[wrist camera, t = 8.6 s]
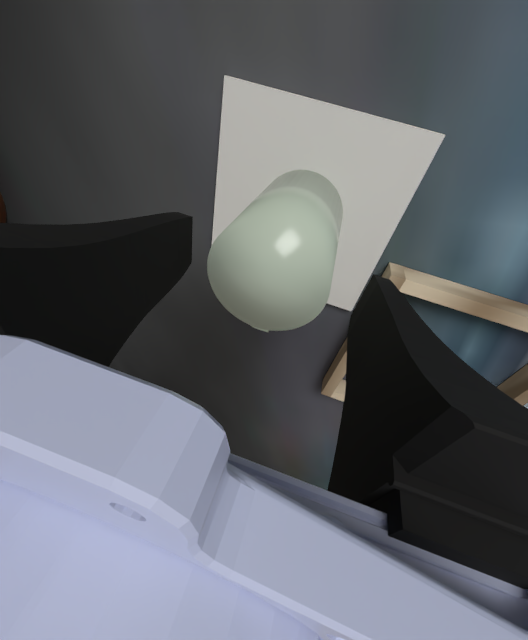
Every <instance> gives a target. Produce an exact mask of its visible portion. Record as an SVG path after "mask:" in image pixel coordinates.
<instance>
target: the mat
mask: <svg viewBox="0 0 528 640" xmlns="http://www.w3.org/2000/svg"><path fill="white" fill-rule="evenodd" d="M444 137H445V135H444V134H441V133H438V132H434V131H430V130H426V129H423V128H419V127H415V126H412V125H408V124H404V123H401V122H397V121H393V120H390V119H386V118H382V117H378V116H375V115H371V114H367V113H364V112H360V111H356V110H353V109H349V108H345V107H341V106H338V105H334V104H330V103H327V102H323V101H319V100H316V99H312V98H308V97H305V96H301V95H297V94H293V93H290V92H286V91H282V90H279V89H275V88H271V87H268V86H264V85H260V84H256V83H253V82H249V81H245V80H242V79H238V78H234V77H231V76H226V75H224V87H223V100H222V114H221V127H220V140H219V154H218V167H217V180H216V193H215V207H214V220H213V233H212V244H213V243H214V241H215V240H216V238H217V237H218V236H219V235H220V234H221V233H222V232H223V231H224V230H225V229H226V228H227V227H228V226H229V225H230V224H231V223H232V222H233V221H234V220H235V219H236V218H237V217H238V216H239V215H240V214H241V213H242V212H243V211H244V210H245V209H246V208H247V207H248V206H249V205H250V204H251V203H252V202H253V201H254V200H255V199H256V198H257V197H258V196H259V195H260V194H261V193H262V192H263V191H264V190H265V189H266V188H267V187H268V186H269V185H270V184H271V183H272V182H273V181H274V180H275V179H276V178H277V177H279V176H280V175H282V174H284V173H287V172H289V171H293V170H309V171H313V172H316V173H319V174H320V175H322V176H324V177H325V178H327V179H328V180H329V181H330V182H331V183H332V184H333V185H334V187H335V188H336V189H337V191H338V193H339V195H340V198H341V201H342V205H343V219H342V225H341V230H340V236H339V242H338V248H337V254H336V260H335V265H334V271H333V277H332V283H331V289H330V294H329V298H328V301H327V304H330V305H333V306H336V307H339V308H342V309H346V310H349V311H352V309H353V307H354V305H355V304H356V302H357V300H358V298H359V296H360V294H361V292H362V290H363V289H364V287H365V285H366V283H367V281H368V279H369V277H370V276H371V274H372V272H373V270H374V268H375V266H376V264H377V262H378V261H379V259H380V257H381V255H382V253H383V251H384V249H385V247H386V246H387V244H388V242H389V240H390V238H391V236H392V234H393V232H394V231H395V229H396V227H397V225H398V223H399V221H400V219H401V217H402V216H403V214H404V212H405V210H406V208H407V206H408V204H409V202H410V201H411V199H412V197H413V195H414V193H415V191H416V189H417V187H418V186H419V184H420V182H421V180H422V178H423V176H424V174H425V172H426V171H427V169H428V167H429V165H430V163H431V161H432V159H433V157H434V156H435V154H436V152H437V150H438V148H439V146H440V144H441V142H442V141H443V139H444Z"/></svg>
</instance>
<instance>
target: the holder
mask: <svg viewBox="0 0 528 640" xmlns="http://www.w3.org/2000/svg"><path fill="white" fill-rule="evenodd" d="M381 277H383V278H386V279H390V280H391V281H392V282H393V283H394V285H395V286H396V287H397V288H398V290H399V291H400V292H402V293H405V294H408V295H411V296H415V297H418V298H421V299H424V300H427V301H430V302H433V303H437V304H440V305H443V306H446V307H449V308H452V309H455V310H459V311H462V312H465V313H468V314H471V315H474V316H478V317H481V318H484V319H487V320H490V321H493V322H496V323H500V324H503V325H506V326H509V327H512V328H515V329H518V330H522V331H525V332H528V305H526V304H523V303H519V302H516V301H513V300H510V299H507V298H503V297H500V296H497V295H494V294H490V293H487V292H484V291H481V290H478V289H474V288H471V287H468V286H465V285H461V284H458V283H455V282H452V281H449V280H445V279H442V278H439V277H436V276H432V275H429V274H426V273H423V272H420V271H416V270H413V269H410V268H407V267H403V266H400V265H397V264H394V263H391V262H389V264H388V266H387V267H386V269H385V271H384V273H383V274H382V276H381ZM346 361H347V338H346V340H345V342H344V343H343V345H342V347H341V349H340V350H339V352H338V354H337V356H336V358H335V359H334V361H333V363H332V365H331V366H330V368H329V370H328V372H327V373H326V375H325V377H324V379H323V383H322V390H321V394H323V395H326V396H329V397H332V398H335V399H337V400H340V401H343V402H344V398H345V389H346V381H345V380H342V378H343V377H344V375H345V374H346ZM497 388H498V389H499V390H501V391H502V392H504V393H505V394H506V395H508V396H509V397H511V398H512V399H514V400H515V401H517V402H518V403H519V404H521V405H522V406H523V405H525V404H526V403H528V364H527V365H525V366H524V367H523V368H521V369H520V370H519V371H517V372H516V373H515V374H514V375H512V376H511V377H510V378H508V379H507V380H506V381H504V382H503V383H502V384H500V385H499V386H498V387H497Z"/></svg>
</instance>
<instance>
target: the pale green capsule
mask: <svg viewBox="0 0 528 640" xmlns="http://www.w3.org/2000/svg"><path fill="white" fill-rule="evenodd" d="M342 219H343V205H342V201H341V198H340V195H339V193H338V191H337V189H336V188H335V187H334V185H333V184H332V183H331V182H330V181H329V180H328V179H327V178H325V177H324V176H322V175H320V174H319V173H316V172H313V171H309V170H293V171H289V172H287V173H284V174H282V175H280V176H279V177H277V178H276V179H275V180H274V181H273V182H272V183H271V184H270V185H269V186H268V187H267V188H266V189H265V190H264V191H263V192H262V193H261V194H260V195H259V196H258V197H257V198H256V199H255V200H254V201H253V202H252V203H251V204H250V205H249V206H248V207H247V208H246V209H245V210H244V211H243V212H242V213H241V214H240V215H239V216H238V217H237V218H236V219H235V220H234V221H233V222H232V223H231V224H230V225H229V226H228V227H227V228H226V229H225V230H224V231H223V232H222V233H221V234H220V235H219V236H218V237H217V238H216V240H215V241H214V243H213V244H212V247H211V249H210V252H209V255H208V261H207V272H208V278H209V281H210V285H211V287H212V289H213V292H214V293H215V295H216V297H217V298H218V300H219V301H220V303H221V304H222V305H223V306H224V307H225V308H226V309H227V310H228V311H229V312H230V313H231V314H233V315H234V316H235V317H236V318H238V319H240V320H241V321H243V322H245V323H247V324H249V325H252V326H251V327H253V328H256V329H259V330H262V331H265V332H269V330H272V331H285V330H291V329H295V328H298V327H301V326H303V325H305V324H307V323H309V322H310V321H312V320H313V319H314V318H316V317H317V316H318V315H319V314H320V312H321V311H322V310H323V308H324V307H325V305H326V303H327V301H328V298H329V294H330V289H331V283H332V277H333V271H334V265H335V260H336V254H337V248H338V242H339V236H340V230H341V225H342Z"/></svg>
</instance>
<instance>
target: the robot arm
mask: <svg viewBox="0 0 528 640" xmlns="http://www.w3.org/2000/svg"><path fill="white" fill-rule="evenodd" d="M191 260H192V217H191V216H188V215H185V214H182V213H178V212H171V213H162V214H155V215H149V216H143V217H137V218H131V219H124V220H116V221H109V222H101V223H90V224H72V225H29V224H10V223H0V640H528V409H527V408H525V407H524V406H522V405H521V404H519V403H518V402H517V401H515V400H514V399H512V398H511V397H509V396H508V395H506V394H505V393H504V392H502V391H501V390H499V389H498V388H497V387H495V386H494V385H493V384H491V383H490V382H489V381H487V380H486V379H485V378H483V377H482V376H481V375H480V374H478V373H477V372H476V371H475V370H473V369H472V368H471V367H470V366H468V365H467V364H466V363H465V362H464V361H463V360H461V359H460V358H459V357H458V356H457V355H456V354H455V353H454V352H453V351H451V350H450V349H449V348H448V347H447V346H446V345H445V344H444V343H443V342H442V341H441V340H440V339H439V338H438V337H437V336H436V335H435V334H434V333H433V332H432V330H431V329H430V328H429V327H428V326H427V325H426V324H425V323H424V321H423V320H422V319H421V318H420V317H419V315H418V314H417V313H416V312H415V310H414V309H413V308H412V307H411V305H410V304H409V303H408V301H407V300H406V299H405V297H404V296H403V295H402V294H401V292H400V291H399V290H398V288H397V287H396V286H395V285H394V283H393V282H392V281H391V280H390V279H386V278H383V277H380V276H377V275H374V274H373V276H372V278H371V280H370V282H369V284H368V285H367V287H366V289H365V291H364V293H363V295H362V297H361V298H360V300H359V302H358V304H357V306H356V308H355V309H354V311H353V313H352V315H351V319H350V324H349V330H348V336H347V361H346V389H345V398H344V405H343V412H342V418H341V424H340V430H339V436H338V442H337V447H336V452H335V457H334V462H333V468H332V472H331V477H330V482H329V486H328V491H327V490H324V489H322V488H319V487H317V486H314V485H311V484H309V483H306V482H304V481H301V480H299V479H296V478H293V477H291V476H288V475H286V474H283V473H280V472H278V471H275V470H273V469H270V468H267V467H265V466H262V465H260V464H257V463H254V462H252V461H249V460H247V459H244V458H241V457H239V456H236V455H234V454H231V453H230V447H229V444H228V440H227V436H226V433H225V431H224V429H223V427H222V426H221V425H220V424H219V423H218V422H217V421H216V420H215V419H214V418H213V417H212V416H211V415H210V414H209V413H208V412H207V411H206V410H205V409H204V408H203V407H202V406H200V405H198V404H196V403H194V402H192V401H190V400H188V399H187V398H185V397H183V396H181V395H179V394H177V393H175V392H173V391H171V390H168V389H165V388H163V387H160V386H157V385H155V384H152V383H149V382H147V381H144V380H141V379H139V378H136V377H133V376H131V375H128V374H125V373H123V372H120V371H117V370H115V369H112V368H109V367H108V366H109V365H110V363H111V362H112V360H113V359H114V357H115V356H116V354H117V353H118V351H119V350H120V349H121V347H122V346H123V344H124V343H125V341H126V340H127V339H128V337H129V336H130V335H131V333H132V332H133V331H134V329H135V328H136V327H137V325H138V324H139V323H140V321H141V320H142V319H143V318H144V317H145V316H146V315H147V314H148V312H149V311H150V310H151V309H152V308H153V307H154V306H155V305H156V304H157V303H158V302H159V301H160V300H161V299H162V298H163V297H164V296H165V295H166V294H167V293H168V292H169V291H170V290H171V289H172V288H173V287H174V285H175V284H176V283H177V282H178V281H179V280H180V279H181V277H182V276H183V275H184V273H185V272H186V270H187V269H188V267H189V266H190V264H191Z"/></svg>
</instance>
